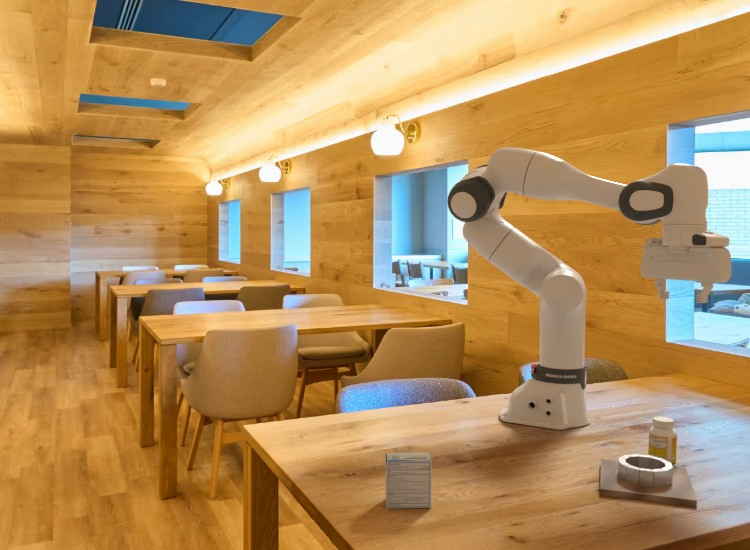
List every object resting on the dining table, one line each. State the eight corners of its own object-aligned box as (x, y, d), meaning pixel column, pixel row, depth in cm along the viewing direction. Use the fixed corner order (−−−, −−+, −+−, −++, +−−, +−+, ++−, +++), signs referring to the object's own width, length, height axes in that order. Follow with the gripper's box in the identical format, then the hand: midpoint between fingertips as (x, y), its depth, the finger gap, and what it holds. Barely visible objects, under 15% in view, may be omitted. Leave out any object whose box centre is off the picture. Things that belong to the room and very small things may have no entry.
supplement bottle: (656, 469, 134) (657, 422, 134) (643, 460, 140) (644, 415, 139) (681, 468, 135) (682, 422, 134) (667, 459, 140) (668, 415, 139)
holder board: (600, 495, 121) (600, 472, 121) (600, 464, 137) (601, 444, 137) (696, 507, 116) (697, 483, 115) (685, 474, 132) (686, 453, 131)
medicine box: (428, 499, 119) (429, 451, 119) (431, 509, 115) (432, 460, 114) (385, 499, 119) (385, 452, 118) (386, 509, 114) (386, 460, 114)
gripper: (635, 237, 153) (633, 297, 154) (718, 238, 135) (715, 305, 136) (653, 237, 156) (651, 296, 157) (737, 238, 138) (734, 304, 139)
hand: (682, 300), depth 146 cm, fingers open, 8 cm apart
